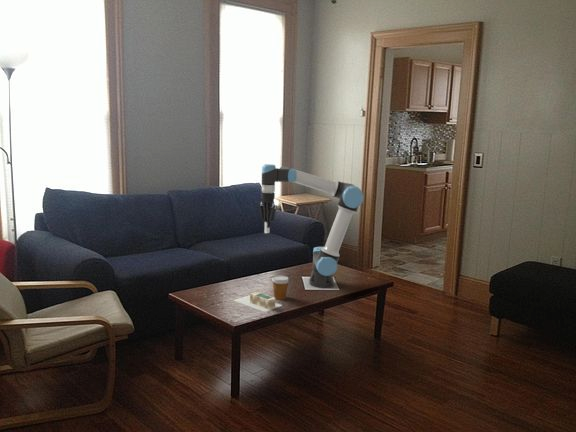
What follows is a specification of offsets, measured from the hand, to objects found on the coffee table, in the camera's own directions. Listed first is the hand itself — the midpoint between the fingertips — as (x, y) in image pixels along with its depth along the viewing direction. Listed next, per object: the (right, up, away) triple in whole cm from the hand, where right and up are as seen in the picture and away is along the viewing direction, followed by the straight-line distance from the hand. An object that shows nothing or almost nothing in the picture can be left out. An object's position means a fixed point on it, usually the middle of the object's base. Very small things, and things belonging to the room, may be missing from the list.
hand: (266, 232), depth 303 cm
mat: (-5, -38, -16) cm, 41 cm away
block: (-7, -35, -14) cm, 38 cm away
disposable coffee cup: (+7, -37, -6) cm, 38 cm away
